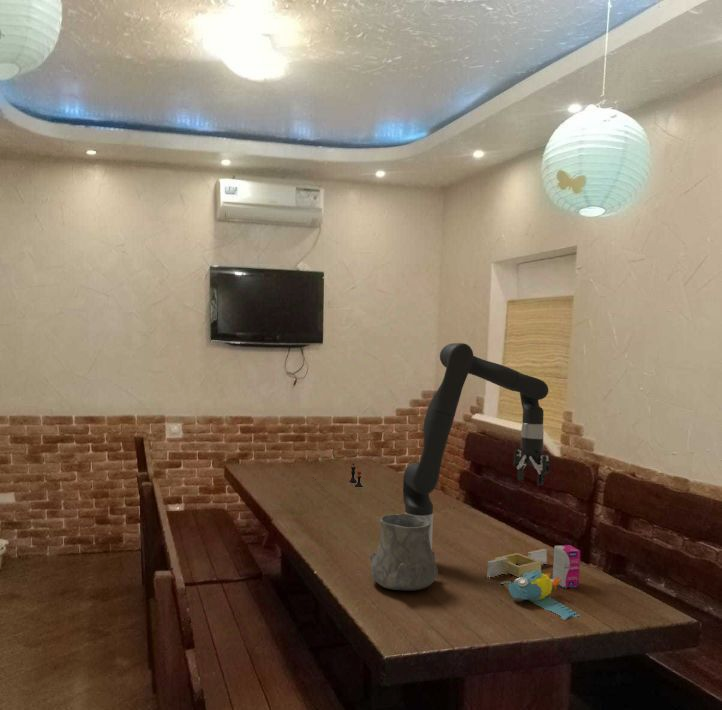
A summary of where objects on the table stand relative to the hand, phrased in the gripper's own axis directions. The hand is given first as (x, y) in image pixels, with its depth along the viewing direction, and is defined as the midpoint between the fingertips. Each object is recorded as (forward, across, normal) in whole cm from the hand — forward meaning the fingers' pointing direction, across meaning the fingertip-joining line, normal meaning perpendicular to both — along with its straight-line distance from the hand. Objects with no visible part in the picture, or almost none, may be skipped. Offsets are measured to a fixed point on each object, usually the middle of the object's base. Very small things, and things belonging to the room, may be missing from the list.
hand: (530, 482), depth 224 cm
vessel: (+26, -2, -55) cm, 61 cm away
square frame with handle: (+26, +8, -15) cm, 31 cm away
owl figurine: (+27, +27, -29) cm, 48 cm away
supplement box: (+26, +24, -11) cm, 37 cm away
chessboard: (+27, -121, +12) cm, 124 cm away
